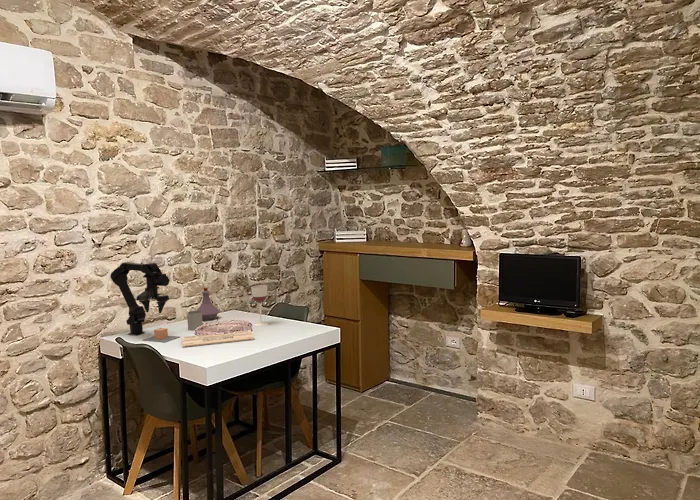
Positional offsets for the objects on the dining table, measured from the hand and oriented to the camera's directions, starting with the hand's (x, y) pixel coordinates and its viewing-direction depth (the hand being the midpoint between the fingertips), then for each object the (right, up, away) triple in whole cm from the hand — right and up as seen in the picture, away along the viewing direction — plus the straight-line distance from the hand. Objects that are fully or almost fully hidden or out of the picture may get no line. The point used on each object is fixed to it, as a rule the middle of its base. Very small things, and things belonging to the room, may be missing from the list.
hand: (153, 312), depth 312 cm
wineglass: (+57, -9, +21) cm, 62 cm away
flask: (+19, -9, +42) cm, 47 cm away
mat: (+7, -13, -7) cm, 17 cm away
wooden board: (+40, -14, -14) cm, 44 cm away
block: (+7, -13, -7) cm, 16 cm away
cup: (+19, -11, +15) cm, 27 cm away
